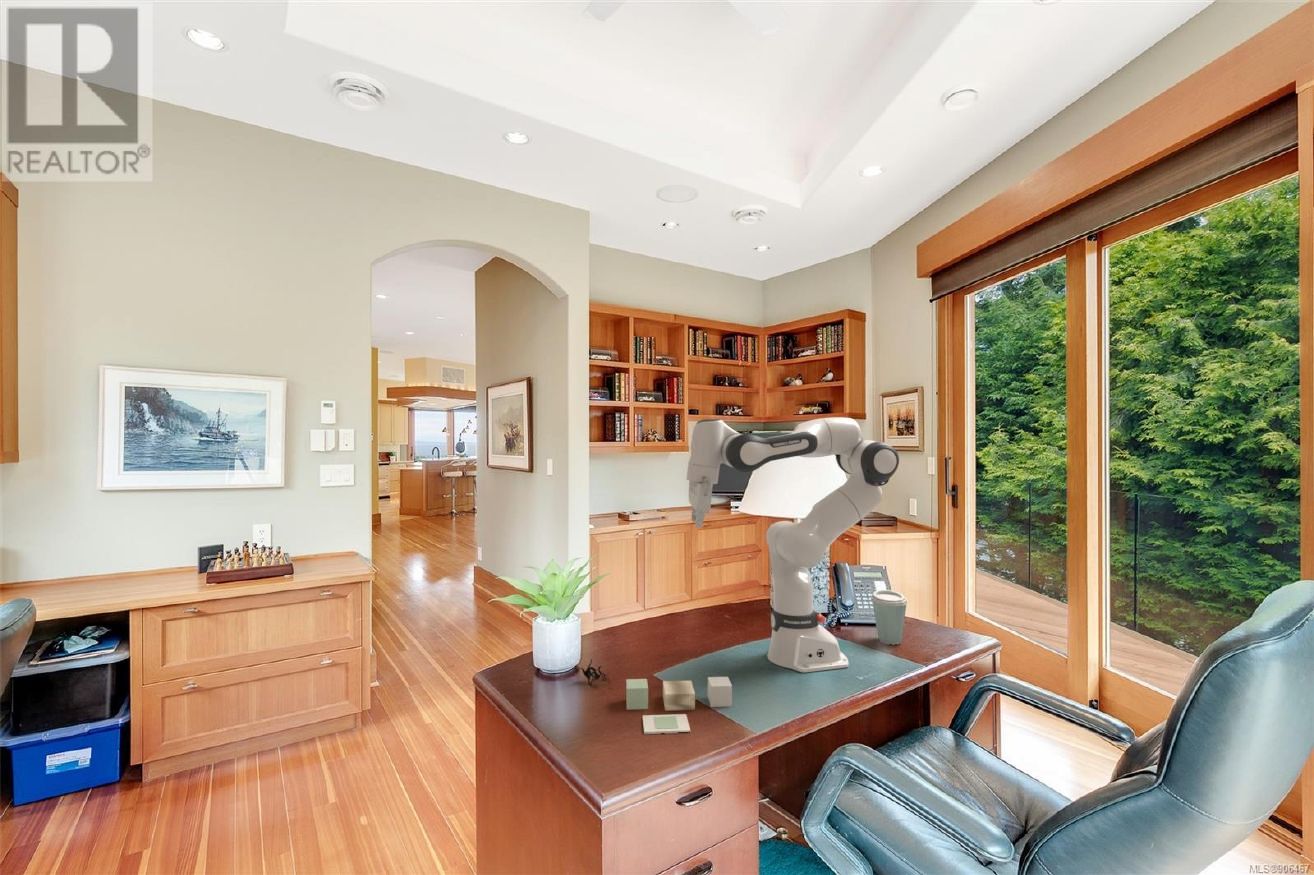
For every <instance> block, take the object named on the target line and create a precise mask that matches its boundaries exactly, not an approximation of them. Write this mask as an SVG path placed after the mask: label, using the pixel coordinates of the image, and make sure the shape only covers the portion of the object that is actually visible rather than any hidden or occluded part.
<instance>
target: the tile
mask: <svg viewBox="0 0 1314 875" xmlns="http://www.w3.org/2000/svg"><path fill="white" fill-rule="evenodd" d="M687 716H688V715H687V714H685V713H684V714H683V713H682V714H681V713H679V714H675V713H674V714H650V715H649V714H648V715H644V714H642V724H643V725H642V726H643V733H644V735H655V734H656V735H658V734H659V735H662V734H661V733H665V734H679V733H678V732H689V731H690V732H691V728H690V723H689V720H688V717H687Z"/></svg>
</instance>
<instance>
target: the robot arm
mask: <svg viewBox="0 0 1314 875" xmlns="http://www.w3.org/2000/svg"><path fill="white" fill-rule="evenodd" d="M691 435H692V436H691V441H690V456H689V459H688V464H687V472H686V480H687V481H688V482H689V483H688V502H689V504H690V505H691V519H690V520H691V521H692V522H694V526H695V527H696V528H697V529H702V528H703V523H704V520H705V516H706V515H707V514H710V512H711V506H712V505H711V504H712V497H713V486H714V485H716V484H719V475H720V467H721V464H725V465H726V466H728V467H730V468H733V469H734V470H737V471H739V472H742V473H751V472H754V471H756V470H759V468H761V467H763V466H764V465H765V464H768V463H769V462H772V461H773V462H774V461H777V460H784V459H789V458H793V457H801V458H809V459H810V458H812V459H813V458H823V457H830V456H835V460H836V463H837V465H838V468H839V469H841V470H842V472H844V473H846V474H848V475H849V477H848V479H847V480H846V482H845V483H843V485H841V486H839V487H838V488H836V489H835V490H833V491H832V492H830V493H829V494H827V495H826V496H825V497H823V498H822V499H820V500H819V501H818V502H816V503H814V505H813V506H812V507H811V511H810V512H809V513H807V515H806V516H805V517H804V519H802V520H800V522H798V523H795V522H792V521H790V520H782V521H781V520H780V521H777V522H774V523H773V524H771V525H770V526H769V527H768V529H767V531H766V533H765V539H766V543H767V544H766V545H767V547H768V552H769V560H770V567H771V574H772V580H773V581H772V582H773V607H772V609H771V616H770V617H771V618H770V619H771V620H770V623H771V628H772V631H771V640H770V644H769V648H768V652H767V655H766V657H767V659H768V661H770V662H771V663H772V664H775V665H777V666H780V667H783V668H786V669H791V670H794V671H796V672H800V673H810V672H820V671H828V670H835V669H844V668H848V667H849V664H850V663H849V659H848V657H847V656H846V654H844V653H843V652H842V651H841V649H840V645H839V641H838V640H837V638H836V637H835V636H834V635H833V634H832V633H831V632H829V631H828V630H827V629H826V628H824V626H822V625H821V624H824V623H825V622H826V617H825V616H823V614H820V613H818V612H817V611H815V610H814V598H813V597H814V585H813V581H812V578H811V575H810V572H809V571H810V570H809V569H811V568H814V567H817V566H818V565H819V564H821V562H822V561H823V559H824V557H825V554H826V551H827V550H828V549H829V547H831V545H832V544H833V543H834V542H835V541H836V540H837V538H839V537H840V536H841V535H843V534H844V533H845V532H846V531H848V530H849V529H851V528H852V527H853V526H854V525H856V524H858V523H859V522H860V521H861V520H863V519H864V518H865V517H867V516H868V515H869V514H871V512H872V511H873V510H874V509H875V508H876V507H878V505H879V504H880V503H881V501H882V499H883V494H884V493H883V490H882V488H881V486H885V485H887V484H888V482H889V481H890V478H891V477H892V476H893V475H894V474H896V473H895V472H897V470H898V467H899V464H900V456H899V454H898V452H897V450H896V449H895V448H894V447H893V446H891V445H890V444H888V443H886V442H883V441H875V440H872V439H870V440H869V439H864V438H863V436H862V430H861V428H860V425H859V424H858V422H857V421H856V420H854V419H853V418H851V417H841V416H840V417H838V416H837V417H836V416H835V417H825V418H823V417H822V418H816V419H811V420H807V421H805V422H802V423H799V424H797V425H796V426H795V427H794V429H793V431H792V432H791V433H788V434H787V433H786V434H783V435H782V434H781V435H776V436H770V437H760V436H757V435H754V434H749V433H745V434H743V433H740V432H738V431H736V430H734V428H733V429H732V428H731V427H730V426H729V425H727V424H726V423H725V422H724V420H723V419H720V418H707V419H706V418H705V419H701V420H698V421H697V422H696V423H695V425H694V428H693V430H692V434H691Z"/></svg>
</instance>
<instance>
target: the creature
mask: <svg viewBox="0 0 1314 875" xmlns="http://www.w3.org/2000/svg"><path fill="white" fill-rule="evenodd" d="M592 662H593V658H591V660H590V663H589V664H588V666H587V668H586V670H585V669H584V668H582V667H580V669H581V670H582V672H583V675H584V676H585V678H586V679H587V681H588V684H587V685H589V686H590V687H591V688H592V689H593V690H595V691H597V690H598V687H597V684H595V685H594V686H595V687H596V689H595V688H594V686H593V682H594V681H596V680H599V679H601V678H602V682H603V681H607V683H608V684H609V685H610V684H611V683H612V682H611V680H610V678H609V677H608V675H607V674H605V673H603V672H602V671H601V668H602V666H598V668H597V669H596V668H594V667H593V666H591V665H592ZM597 671H598V672H597ZM591 678H592V679H591ZM590 679H591V682H590Z"/></svg>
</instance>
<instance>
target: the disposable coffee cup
mask: <svg viewBox="0 0 1314 875" xmlns="http://www.w3.org/2000/svg"><path fill="white" fill-rule="evenodd" d="M870 600H871V603H872V608H873V613H874V619H875V621H874V622H875V626H876V627H875V628H876V632H877V637H878V640H879V642H880V643H882V644H885V645H889V644H892V646H896V645H895V644H897V645H899V644H901V643H902V642H901V641H902V639H903V630H904V624H905V618H906V612H907V611H906V609H907V605H908V600H907V598H906V597H905V595H904V594H902V593H901V592H898V591H894V590H890V589H889V590H888V589H881V590H879V589H878V590H875V591H874V592H872V595H871V596H870Z"/></svg>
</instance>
